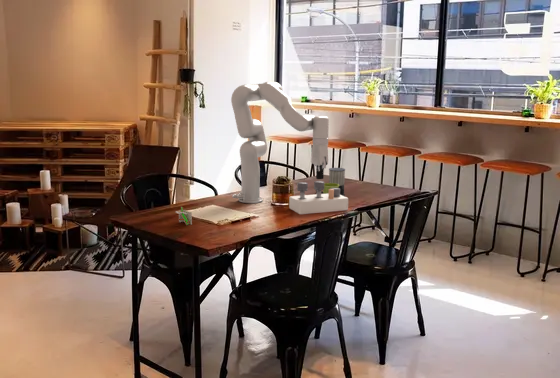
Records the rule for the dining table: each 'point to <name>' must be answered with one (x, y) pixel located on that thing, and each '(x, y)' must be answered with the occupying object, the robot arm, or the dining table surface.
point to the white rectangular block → (317, 204)
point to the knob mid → (319, 187)
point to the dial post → (331, 194)
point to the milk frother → (337, 178)
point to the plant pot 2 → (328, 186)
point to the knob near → (302, 189)
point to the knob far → (336, 192)
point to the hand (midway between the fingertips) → (319, 178)
